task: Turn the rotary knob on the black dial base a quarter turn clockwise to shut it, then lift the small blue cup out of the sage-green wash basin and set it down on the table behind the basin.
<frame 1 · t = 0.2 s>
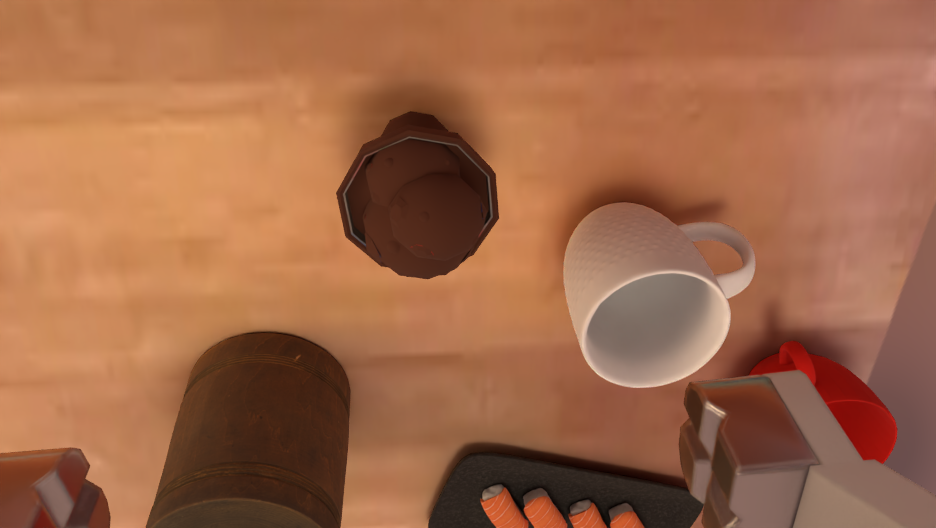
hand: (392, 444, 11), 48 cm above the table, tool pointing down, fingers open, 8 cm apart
mug: (624, 231, 67), on the table
ceramic cup: (775, 361, 77), on the table
ice cream bowl: (415, 143, 60), on the table
wooden container: (271, 390, 73), on the table
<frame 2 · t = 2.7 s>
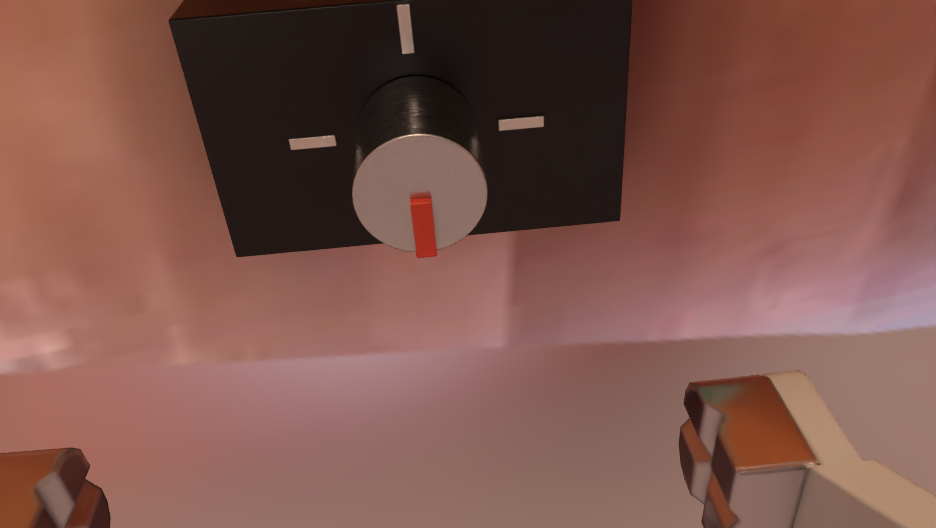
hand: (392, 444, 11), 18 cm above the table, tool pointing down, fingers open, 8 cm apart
black dial base: (415, 92, 26), on the table
rotary knob: (418, 164, 22), point 5 cm above the table, hinge at 90.0°
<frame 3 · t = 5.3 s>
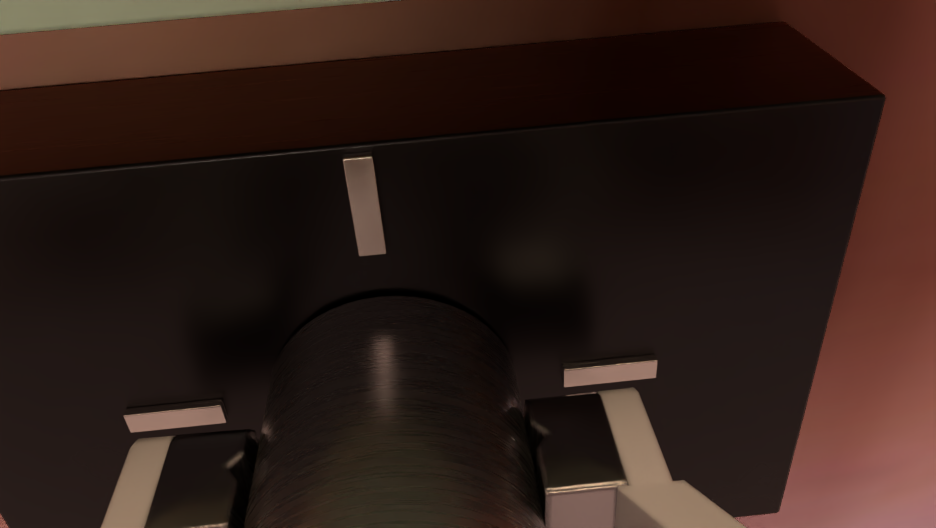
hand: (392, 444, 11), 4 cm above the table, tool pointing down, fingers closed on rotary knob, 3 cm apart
black dial base: (393, 273, 14), on the table
rotary knob: (396, 511, 10), point 5 cm above the table, hinge at 90.1°, touching gripper
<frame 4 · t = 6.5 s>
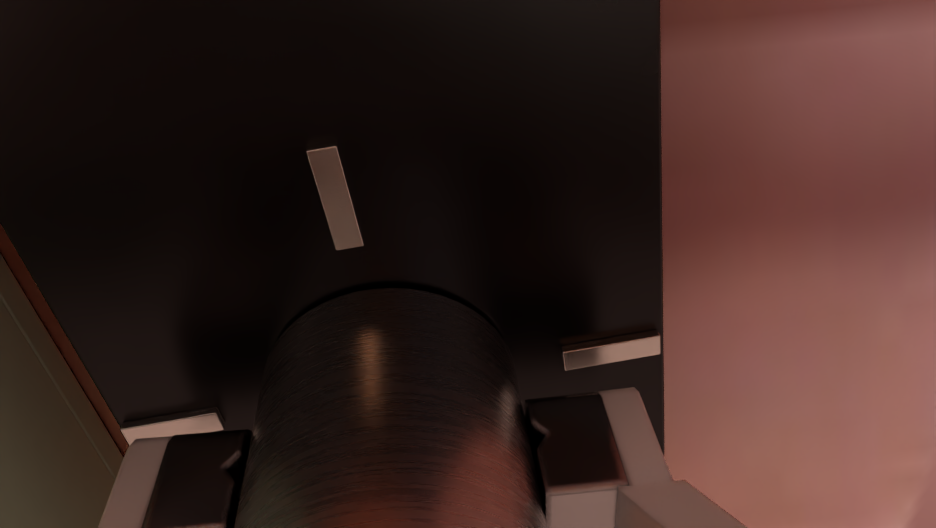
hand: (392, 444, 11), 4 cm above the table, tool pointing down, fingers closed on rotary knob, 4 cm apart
black dial base: (390, 267, 14), on the table
rotary knob: (392, 509, 9), point 5 cm above the table, hinge at -11.6°, touching gripper
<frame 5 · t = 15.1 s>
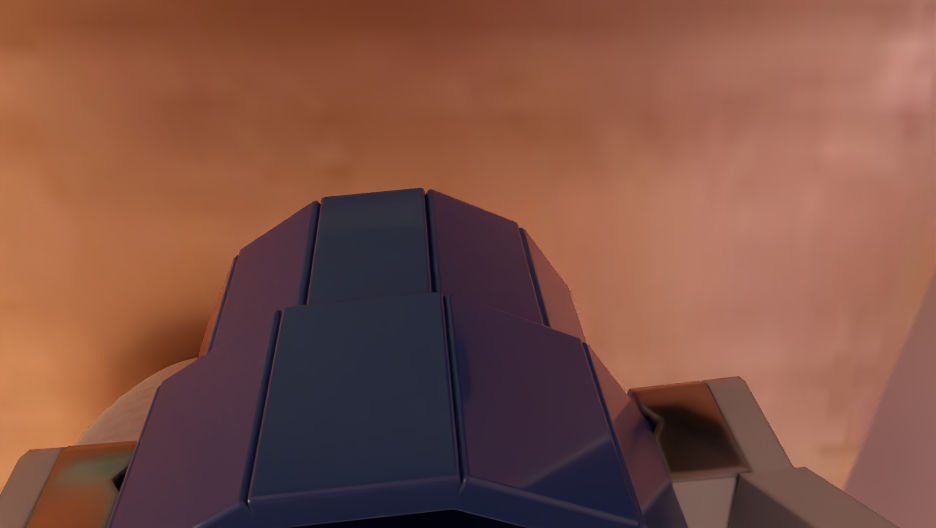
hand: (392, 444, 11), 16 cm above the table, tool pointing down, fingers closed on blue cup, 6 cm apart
mug: (255, 404, 32), on the table
blue cup: (395, 344, 12), point 14 cm above the table, touching gripper
when the fingers open (2 cm above the table, at t = 18.7 s): blue cup stays where it is, on the table.
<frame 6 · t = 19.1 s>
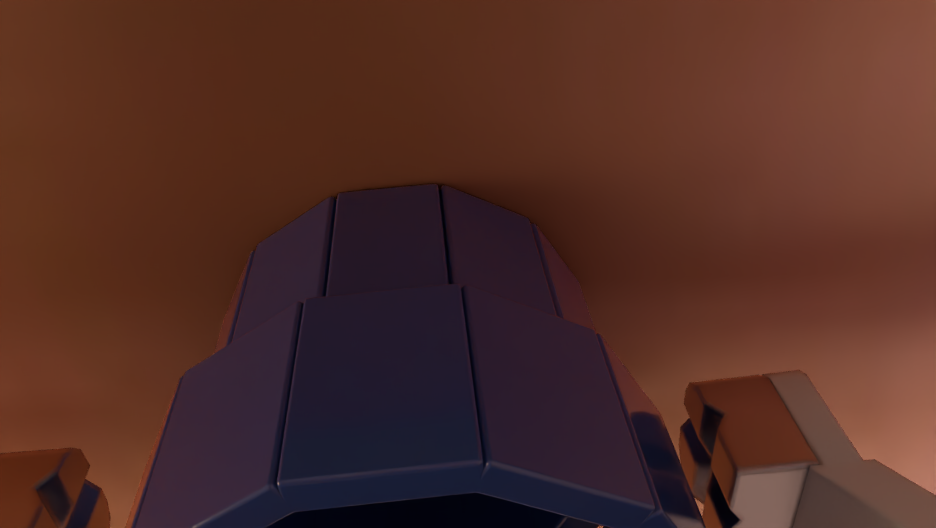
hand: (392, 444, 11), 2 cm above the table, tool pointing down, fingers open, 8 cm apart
blue cup: (408, 338, 13), on the table
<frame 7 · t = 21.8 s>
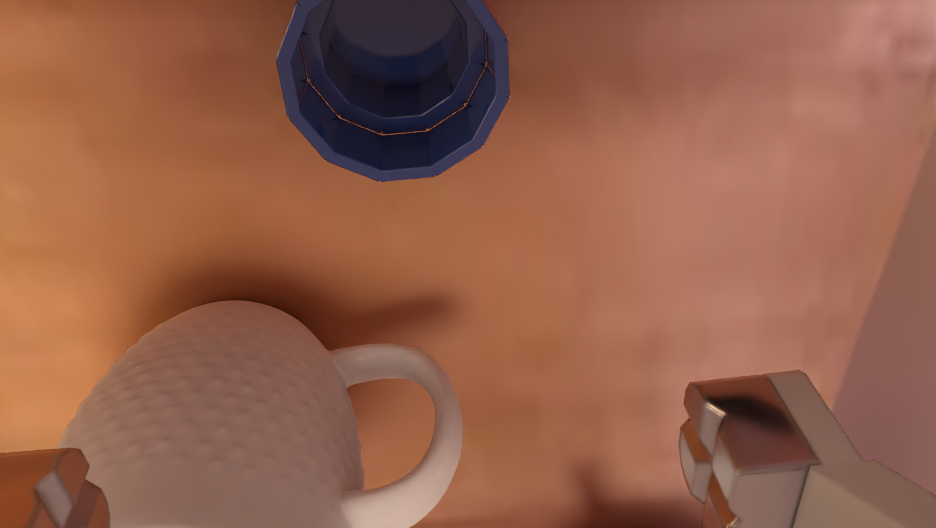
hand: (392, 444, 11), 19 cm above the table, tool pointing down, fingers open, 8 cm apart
mug: (267, 349, 34), on the table
blue cup: (394, 19, 26), on the table
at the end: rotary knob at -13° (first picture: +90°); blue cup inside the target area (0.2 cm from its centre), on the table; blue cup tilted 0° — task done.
